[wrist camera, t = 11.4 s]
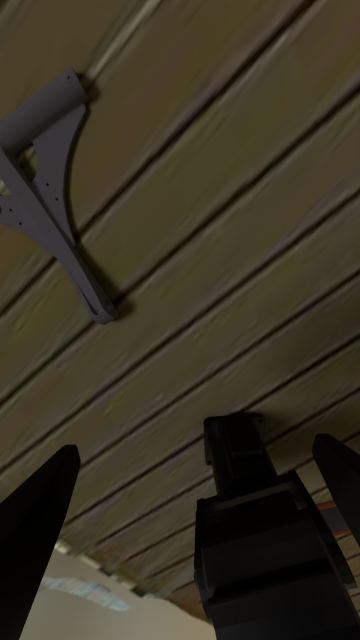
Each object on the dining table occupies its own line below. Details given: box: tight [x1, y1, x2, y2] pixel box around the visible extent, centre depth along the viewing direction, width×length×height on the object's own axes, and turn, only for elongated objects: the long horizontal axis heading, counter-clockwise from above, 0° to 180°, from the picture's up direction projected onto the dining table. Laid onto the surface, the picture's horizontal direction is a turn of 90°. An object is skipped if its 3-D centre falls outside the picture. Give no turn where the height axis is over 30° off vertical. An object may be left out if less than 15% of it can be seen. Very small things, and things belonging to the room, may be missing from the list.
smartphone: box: [316, 500, 351, 536], centre depth 29 cm, size 7×1×15 cm
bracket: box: [0, 66, 119, 325], centre depth 16 cm, size 14×15×3 cm
